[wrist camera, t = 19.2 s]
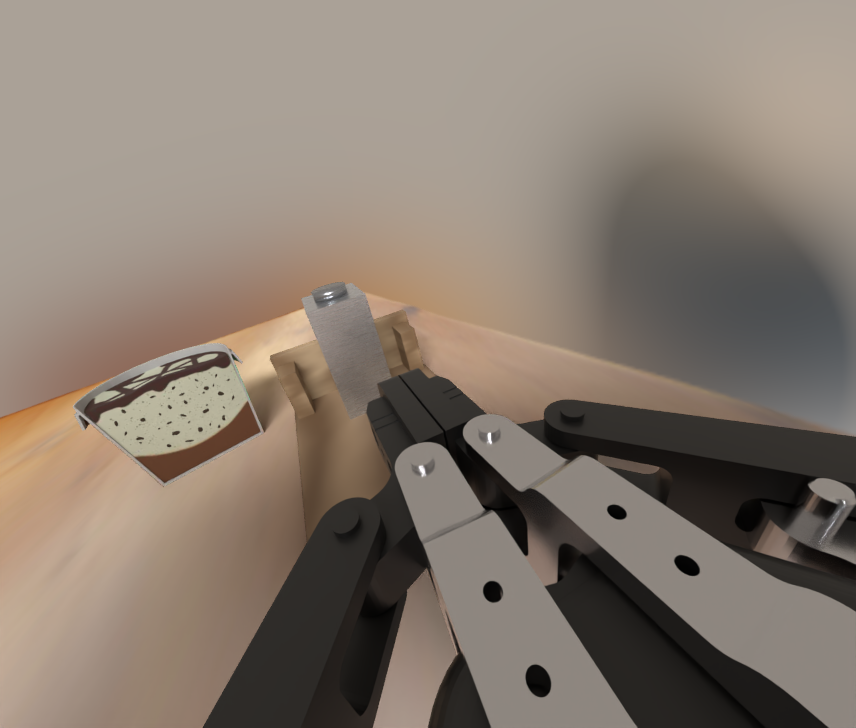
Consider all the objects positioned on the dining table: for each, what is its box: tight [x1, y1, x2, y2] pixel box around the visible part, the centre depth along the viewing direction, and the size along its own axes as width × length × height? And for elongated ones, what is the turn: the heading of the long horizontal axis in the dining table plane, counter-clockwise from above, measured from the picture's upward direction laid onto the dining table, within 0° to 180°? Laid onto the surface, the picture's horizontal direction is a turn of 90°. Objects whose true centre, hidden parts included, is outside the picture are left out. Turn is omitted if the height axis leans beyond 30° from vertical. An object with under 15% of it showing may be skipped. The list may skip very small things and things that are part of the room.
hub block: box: [302, 282, 391, 420], centre depth 31 cm, size 5×6×12 cm
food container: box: [73, 343, 264, 487], centre depth 32 cm, size 12×6×10 cm, turn 128°
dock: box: [270, 310, 436, 542], centre depth 29 cm, size 15×19×7 cm
